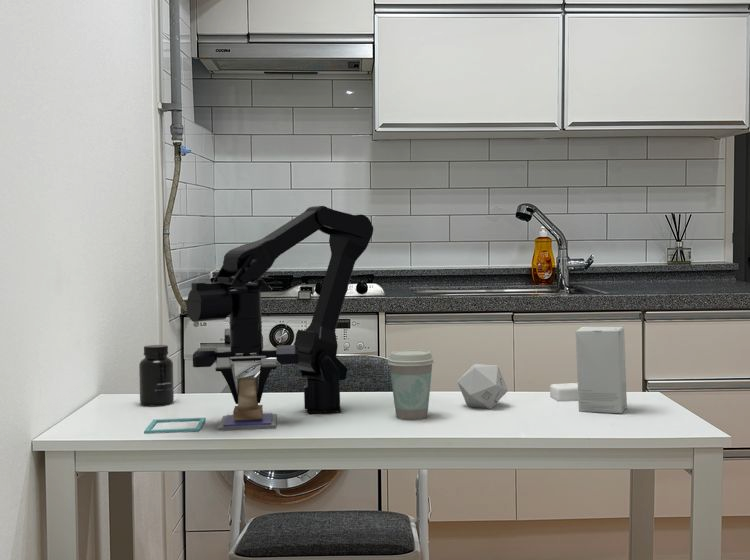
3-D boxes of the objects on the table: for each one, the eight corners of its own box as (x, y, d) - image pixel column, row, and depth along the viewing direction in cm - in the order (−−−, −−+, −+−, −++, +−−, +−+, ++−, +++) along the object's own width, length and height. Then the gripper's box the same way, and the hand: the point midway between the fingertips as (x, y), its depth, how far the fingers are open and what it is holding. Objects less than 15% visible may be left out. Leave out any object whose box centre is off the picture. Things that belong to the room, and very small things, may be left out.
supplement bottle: (165, 407, 170) (163, 348, 169) (134, 406, 171) (132, 348, 170) (179, 400, 176) (177, 343, 176) (149, 400, 178) (147, 343, 177)
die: (472, 416, 158) (503, 374, 157) (441, 388, 164) (472, 347, 163) (492, 424, 165) (523, 383, 163) (462, 397, 170) (492, 357, 169)
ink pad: (276, 416, 158) (276, 412, 158) (275, 428, 148) (275, 423, 148) (223, 418, 157) (223, 414, 157) (218, 430, 147) (218, 426, 147)
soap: (558, 403, 167) (558, 388, 167) (549, 398, 172) (548, 383, 172) (601, 401, 168) (601, 386, 168) (591, 396, 173) (591, 381, 173)
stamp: (262, 413, 155) (261, 375, 155) (261, 419, 150) (260, 380, 150) (235, 414, 155) (234, 376, 154) (233, 420, 150) (232, 381, 149)
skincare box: (627, 408, 159) (627, 326, 158) (622, 415, 153) (621, 330, 152) (582, 405, 163) (582, 325, 162) (575, 411, 157) (575, 328, 156)
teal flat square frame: (205, 419, 157) (205, 417, 157) (200, 431, 147) (199, 428, 147) (153, 421, 156) (153, 419, 156) (144, 433, 146) (144, 431, 146)
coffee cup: (382, 420, 153) (380, 354, 152) (398, 410, 161) (396, 348, 160) (426, 422, 150) (425, 356, 149) (440, 413, 158) (439, 350, 157)
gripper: (297, 312, 161) (299, 393, 161) (198, 315, 159) (200, 397, 159) (297, 317, 149) (299, 404, 150) (191, 320, 148) (193, 408, 148)
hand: (248, 403), depth 152 cm, fingers closed on stamp, 4 cm apart
